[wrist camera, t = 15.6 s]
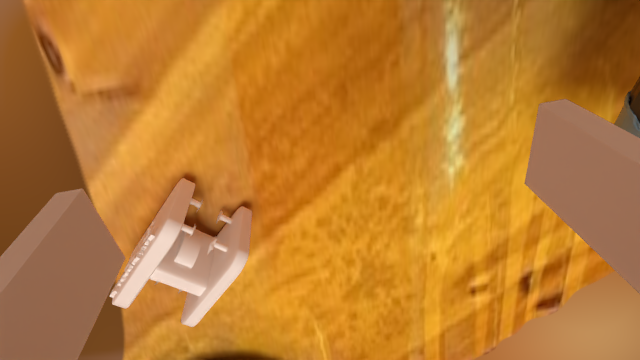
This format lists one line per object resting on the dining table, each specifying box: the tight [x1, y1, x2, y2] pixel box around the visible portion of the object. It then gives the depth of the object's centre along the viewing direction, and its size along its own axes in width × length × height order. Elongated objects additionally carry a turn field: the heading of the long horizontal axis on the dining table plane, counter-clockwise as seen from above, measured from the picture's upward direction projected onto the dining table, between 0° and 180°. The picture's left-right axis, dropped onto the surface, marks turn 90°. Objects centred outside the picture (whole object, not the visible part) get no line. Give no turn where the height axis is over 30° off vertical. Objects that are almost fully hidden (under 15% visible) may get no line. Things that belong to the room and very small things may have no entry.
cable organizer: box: [110, 178, 252, 327], centre depth 47 cm, size 15×11×12 cm
